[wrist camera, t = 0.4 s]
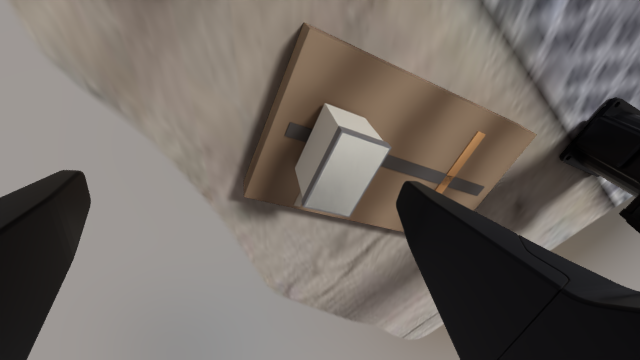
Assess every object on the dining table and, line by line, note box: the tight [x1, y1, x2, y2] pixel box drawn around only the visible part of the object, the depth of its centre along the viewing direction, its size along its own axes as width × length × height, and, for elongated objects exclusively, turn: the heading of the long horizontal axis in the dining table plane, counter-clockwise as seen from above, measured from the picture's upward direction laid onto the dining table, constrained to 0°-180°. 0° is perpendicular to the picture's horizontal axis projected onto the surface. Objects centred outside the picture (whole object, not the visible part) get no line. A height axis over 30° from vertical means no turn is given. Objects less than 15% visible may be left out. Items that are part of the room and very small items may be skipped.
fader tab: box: [295, 103, 392, 217], centre depth 20 cm, size 3×5×4 cm, turn 155°
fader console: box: [244, 23, 536, 232], centre depth 25 cm, size 20×12×2 cm, turn 65°
